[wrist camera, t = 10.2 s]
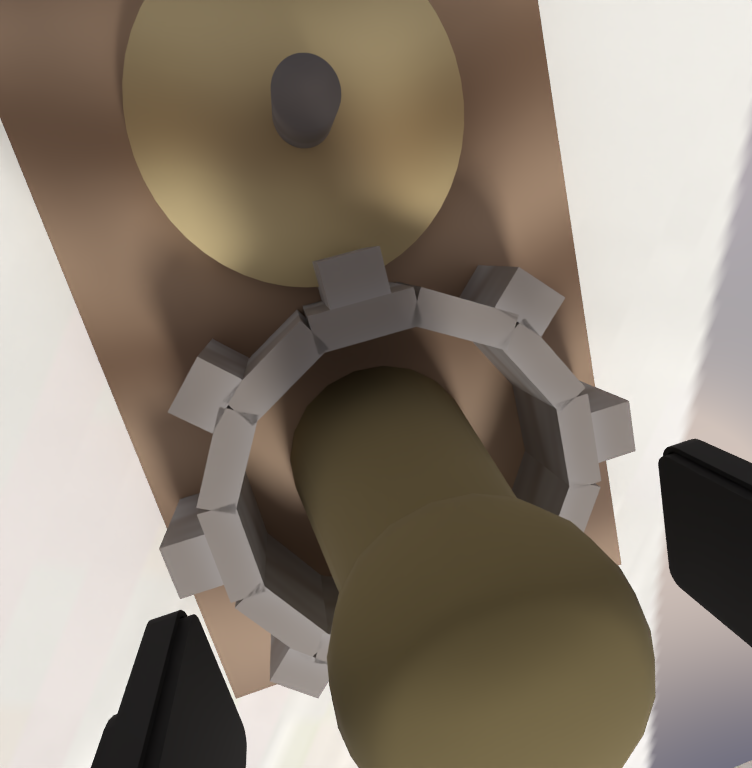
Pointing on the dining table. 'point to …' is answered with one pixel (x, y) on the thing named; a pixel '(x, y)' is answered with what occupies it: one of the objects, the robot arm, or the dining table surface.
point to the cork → (461, 595)
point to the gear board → (307, 262)
